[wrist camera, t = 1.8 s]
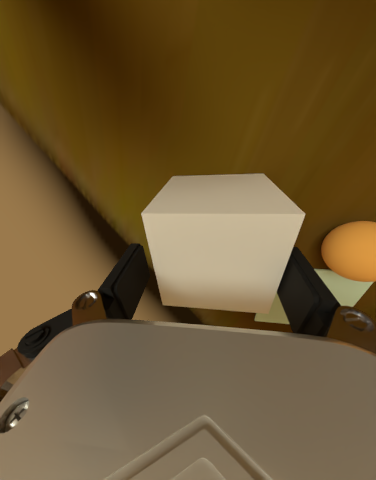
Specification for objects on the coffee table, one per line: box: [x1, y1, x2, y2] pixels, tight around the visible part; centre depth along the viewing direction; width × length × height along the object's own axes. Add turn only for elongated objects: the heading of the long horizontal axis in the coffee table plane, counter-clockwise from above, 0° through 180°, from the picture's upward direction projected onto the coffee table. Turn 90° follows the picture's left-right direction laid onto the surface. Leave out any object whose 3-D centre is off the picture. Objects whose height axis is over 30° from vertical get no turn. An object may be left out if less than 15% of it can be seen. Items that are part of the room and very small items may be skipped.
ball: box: [321, 221, 376, 282], centre depth 14 cm, size 5×5×5 cm
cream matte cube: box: [141, 174, 305, 314], centre depth 13 cm, size 8×8×8 cm
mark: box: [254, 269, 373, 324], centre depth 21 cm, size 11×11×1 cm
